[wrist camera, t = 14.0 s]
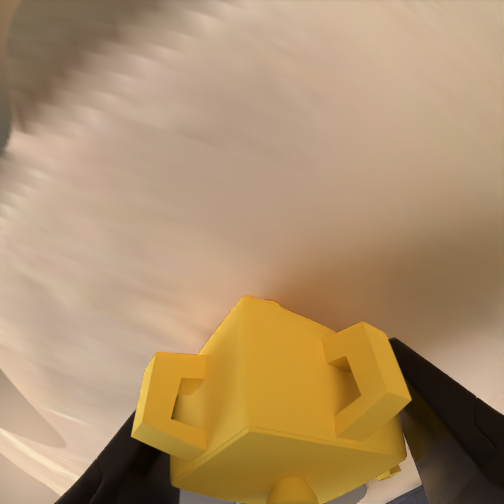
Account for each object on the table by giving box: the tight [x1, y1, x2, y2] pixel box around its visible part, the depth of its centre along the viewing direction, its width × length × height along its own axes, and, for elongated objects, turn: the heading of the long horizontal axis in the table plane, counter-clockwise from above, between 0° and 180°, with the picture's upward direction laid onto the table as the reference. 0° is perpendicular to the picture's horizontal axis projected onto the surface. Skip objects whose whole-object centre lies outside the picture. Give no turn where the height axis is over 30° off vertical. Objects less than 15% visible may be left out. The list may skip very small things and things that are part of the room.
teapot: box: [131, 296, 412, 504], centre depth 7 cm, size 8×6×5 cm
